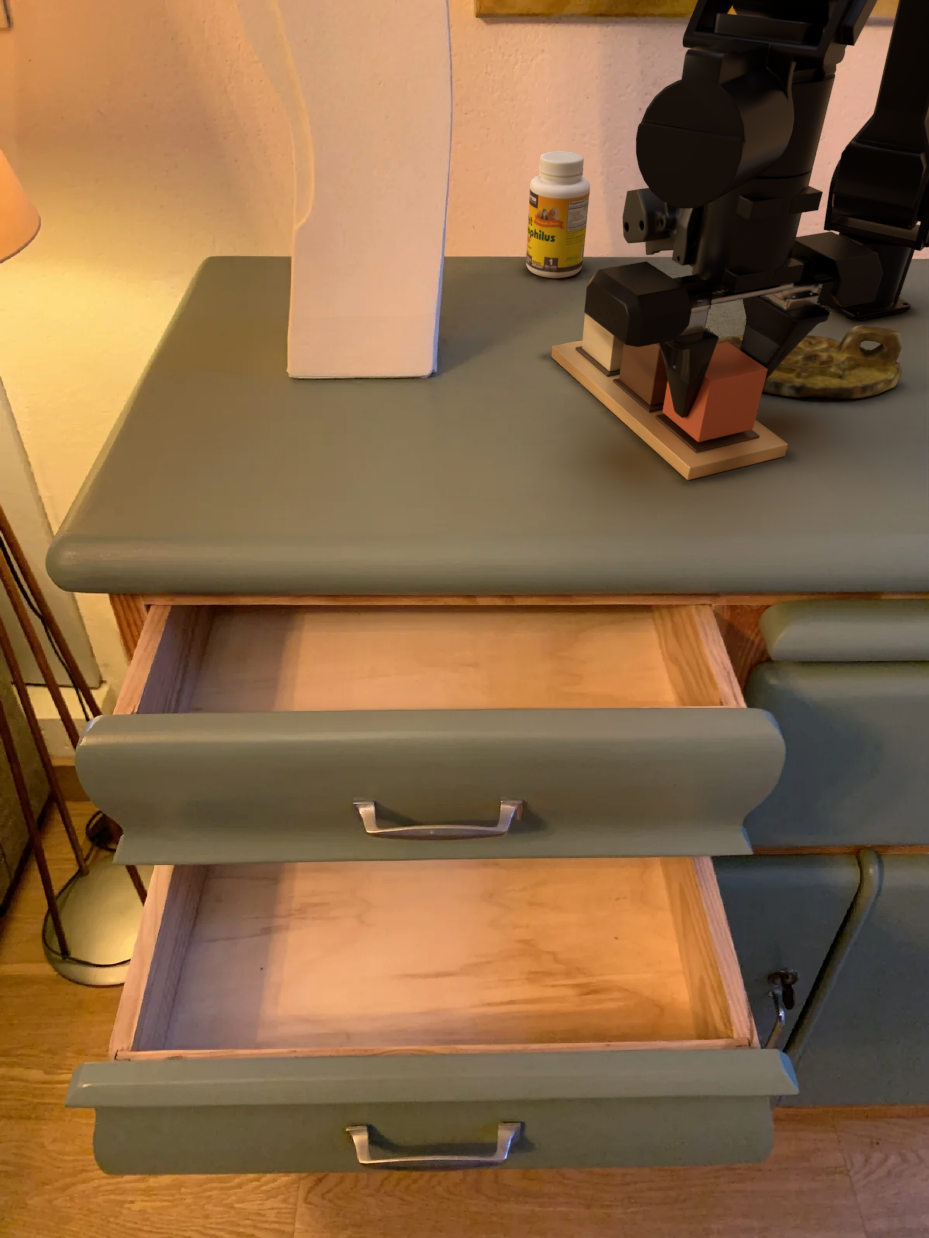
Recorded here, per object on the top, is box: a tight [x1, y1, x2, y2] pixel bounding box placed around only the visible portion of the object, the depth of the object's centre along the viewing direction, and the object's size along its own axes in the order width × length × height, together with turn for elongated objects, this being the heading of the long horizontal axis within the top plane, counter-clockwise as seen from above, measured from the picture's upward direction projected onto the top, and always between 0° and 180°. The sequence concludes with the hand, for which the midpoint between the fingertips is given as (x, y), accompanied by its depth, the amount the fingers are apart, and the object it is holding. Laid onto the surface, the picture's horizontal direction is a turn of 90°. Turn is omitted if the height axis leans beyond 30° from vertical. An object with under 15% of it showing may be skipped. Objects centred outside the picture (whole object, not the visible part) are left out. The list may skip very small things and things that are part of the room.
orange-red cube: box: [663, 342, 768, 442], centre depth 61 cm, size 4×4×4 cm
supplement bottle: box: [525, 150, 591, 279], centre depth 84 cm, size 6×6×10 cm
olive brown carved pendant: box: [717, 324, 903, 400], centre depth 70 cm, size 9×5×15 cm
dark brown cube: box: [619, 343, 668, 405], centre depth 65 cm, size 4×4×4 cm
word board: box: [551, 313, 789, 481], centre depth 66 cm, size 8×20×6 cm, turn 23°
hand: (710, 408), depth 62 cm, fingers closed on orange-red cube, 4 cm apart
